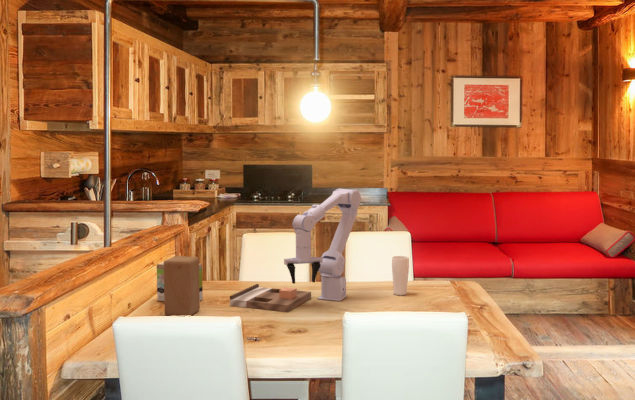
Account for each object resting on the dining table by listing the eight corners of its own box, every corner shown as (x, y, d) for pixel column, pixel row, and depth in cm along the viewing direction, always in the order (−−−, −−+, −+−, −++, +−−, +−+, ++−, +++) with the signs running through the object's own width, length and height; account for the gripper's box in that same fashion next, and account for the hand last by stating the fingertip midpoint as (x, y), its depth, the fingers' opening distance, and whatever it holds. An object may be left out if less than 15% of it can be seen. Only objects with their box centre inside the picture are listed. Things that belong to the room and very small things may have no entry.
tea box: (156, 301, 251) (155, 263, 249) (173, 295, 260) (172, 259, 258) (187, 306, 244) (186, 267, 242) (203, 300, 253) (203, 262, 251)
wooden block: (190, 317, 228) (188, 261, 226) (163, 316, 230) (162, 260, 228) (200, 310, 238) (199, 256, 236) (175, 308, 240) (174, 255, 238)
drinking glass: (408, 292, 264) (408, 256, 263) (409, 296, 258) (409, 259, 256) (391, 292, 265) (391, 255, 263) (391, 296, 258) (392, 258, 257)
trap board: (311, 298, 255) (311, 288, 255) (288, 312, 235) (288, 302, 234) (256, 292, 264) (256, 283, 264) (229, 305, 244) (229, 296, 243)
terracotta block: (296, 296, 248) (296, 288, 248) (291, 299, 243) (291, 291, 243) (284, 295, 250) (284, 287, 249) (279, 298, 245) (279, 290, 245)
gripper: (319, 244, 249) (319, 279, 250) (282, 245, 245) (282, 281, 247) (324, 247, 242) (324, 283, 243) (286, 249, 238) (286, 285, 240)
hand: (303, 282), depth 244 cm, fingers open, 7 cm apart
